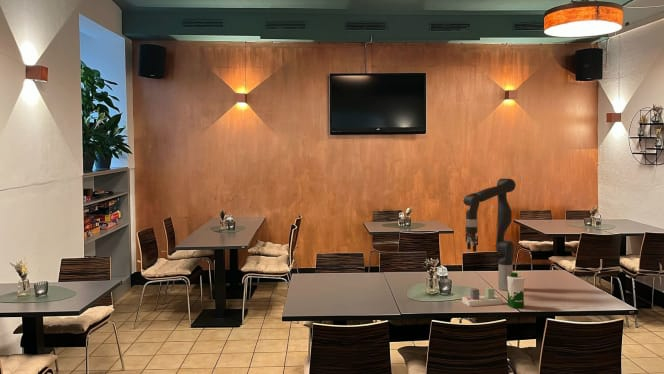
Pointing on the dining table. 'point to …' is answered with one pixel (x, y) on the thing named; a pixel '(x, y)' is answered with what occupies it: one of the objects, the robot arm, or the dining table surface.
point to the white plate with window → (480, 299)
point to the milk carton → (515, 290)
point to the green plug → (490, 293)
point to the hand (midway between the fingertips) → (471, 250)
